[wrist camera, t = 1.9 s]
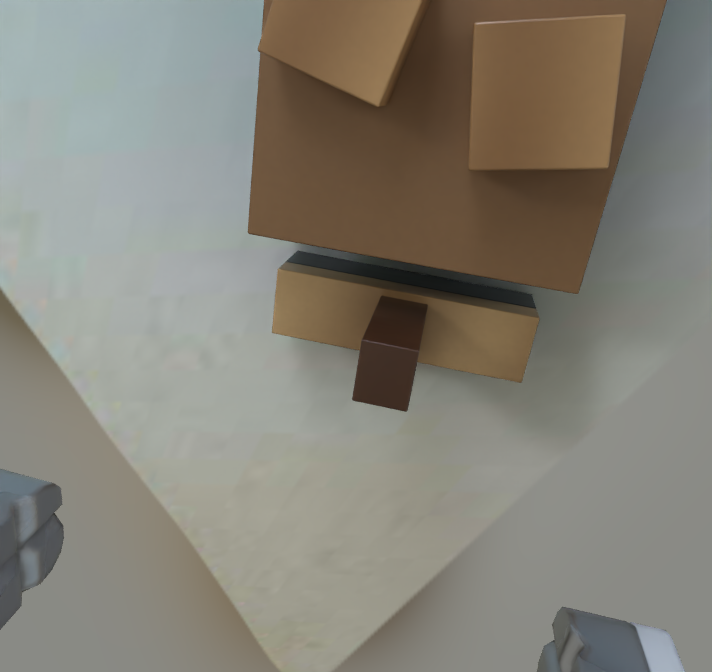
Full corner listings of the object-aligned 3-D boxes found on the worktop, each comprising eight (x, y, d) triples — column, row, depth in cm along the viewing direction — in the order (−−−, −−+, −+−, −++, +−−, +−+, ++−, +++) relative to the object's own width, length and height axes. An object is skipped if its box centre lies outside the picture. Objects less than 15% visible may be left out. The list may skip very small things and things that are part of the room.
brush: (532, 294, 27) (556, 369, 20) (516, 353, 28) (533, 446, 21) (297, 250, 28) (235, 306, 21) (291, 309, 29) (230, 382, 22)
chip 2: (611, 21, 18) (627, 13, 16) (595, 162, 19) (609, 169, 17) (472, 29, 18) (473, 21, 17) (468, 164, 20) (468, 171, 18)
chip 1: (441, -25, 18) (437, -38, 16) (386, 106, 20) (378, 107, 18) (320, -81, 18) (303, -101, 16) (276, 55, 20) (256, 51, 18)
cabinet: (672, -135, 21) (746, -218, 15) (562, 254, 26) (587, 296, 21) (327, -172, 22) (281, -261, 17) (291, 206, 28) (247, 233, 22)
